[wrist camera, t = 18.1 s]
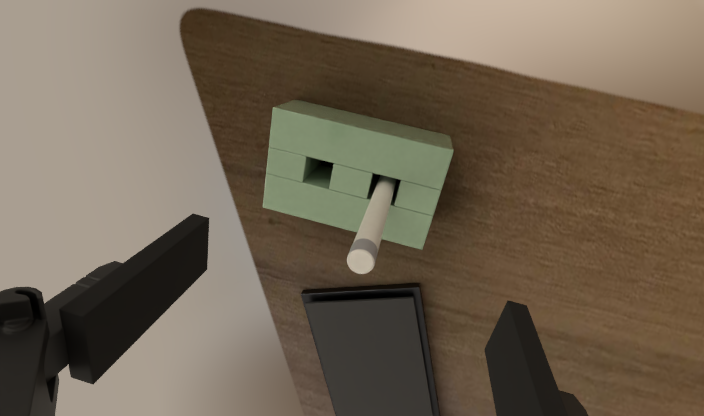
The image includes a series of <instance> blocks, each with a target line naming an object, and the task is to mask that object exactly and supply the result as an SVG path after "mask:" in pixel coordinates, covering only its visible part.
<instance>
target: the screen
mask: <svg viewBox="0 0 704 416" xmlns="http://www.w3.org/2000/svg"><path fill="white" fill-rule="evenodd" d="M305 305H306V308H307V312H308V315H309V319H310V322H311V326H312V329H313V333H314V336H315V340H316V343H317V347H318V350H319V354H320V357H321V361H322V364H323V368H324V371H325V375H326V378H327V382H328V385H329V389H330V392H331V396H332V399H333V403H334V406H335V410H336V413H337V416H433V412H432V406H431V400H430V394H429V388H428V382H427V376H426V370H425V364H424V357H423V351H422V345H421V339H420V333H419V327H418V321H417V315H416V309H415V303H414V297H397V298H378V299H359V300H339V301H320V302H306V303H305Z"/></svg>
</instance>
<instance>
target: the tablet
mask: <svg viewBox="0 0 704 416" xmlns="http://www.w3.org/2000/svg"><path fill="white" fill-rule="evenodd" d="M301 296H302V300H303V303H304V307H305V310H306V314H307V317H308V321H309V324H310V328H311V331H312V334H313V338H314V341H315V345H316V348H317V352H318V355H319V359H320V362H321V366H322V369H323V373H324V376H325V380H326V383H327V387H328V390H329V394H330V397H331V400H332V404H333V407H334V411H335V414H336V416H337V413H336V410H335V406H334V403H333V399H332V396H331V392H330V389H329V385H328V382H327V378H326V375H325V371H324V368H323V364H322V361H321V357H320V354H319V350H318V347H317V343H316V340H315V336H314V333H313V329H312V326H311V322H310V319H309V315H308V312H307V308H306V305H305V303H306V302H320V301H339V300H359V299H378V298H397V297H414V303H415V309H416V315H417V321H418V327H419V333H420V339H421V345H422V351H423V357H424V364H425V370H426V376H427V382H428V388H429V394H430V400H431V406H432V412H433V416H440V411H439V405H438V398H437V392H436V386H435V379H434V373H433V366H432V360H431V354H430V347H429V341H428V334H427V328H426V322H425V315H424V309H423V302H422V296H421V290H420V283H410V284H393V285H377V286H360V287H344V288H327V289H311V290H303V291H302V293H301Z"/></svg>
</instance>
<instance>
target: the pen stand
mask: <svg viewBox="0 0 704 416" xmlns="http://www.w3.org/2000/svg"><path fill="white" fill-rule="evenodd" d="M453 152H454V150H453V145H452V141H451V136H449V135H445V134H441V133H437V132H432V131H428V130H424V129H420V128H415V127H411V126H407V125H402V124H398V123H394V122H390V121H385V120H381V119H377V118H373V117H368V116H364V115H360V114H356V113H351V112H347V111H343V110H339V109H334V108H330V107H326V106H322V105H317V104H313V103H309V102H305V101H300V100H293V101H290V102H287V103H284V104H282V105H279V106H276V107H273V111H272V121H271V131H270V141H269V150H268V160H267V169H266V180H265V189H264V199H263V208H267V209H271V210H275V211H278V212H282V213H286V214H290V215H293V216H297V217H301V218H305V219H308V220H312V221H316V222H320V223H323V224H327V225H331V226H335V227H338V228H342V229H346V230H350V231H353V232H358V230H359V228H360V225H361V223H362V220H363V218H364V215H365V213H366V210H367V208H368V205H369V203H370V200H371V198H372V195H373V193H374V190H375V188H376V185H377V183H378V179H376V175H377V174H379V175H383V176H387V177H391V178H395V179H399V180H400V183H399V185H398V184H396V185H395V188H394V192H393V196H392V200H391V204H390V207H389V211H388V215H387V219H386V223H385V226H384V230H383V234H382V238H381V239H383V240H387V241H391V242H395V243H398V244H402V245H406V246H410V247H413V248H417V249H421V250H422V249H423V247H424V244H425V241H426V238H427V234H428V231H429V228H430V225H431V222H432V219H433V215H434V212H435V209H436V206H437V203H438V200H439V197H440V193H441V190H442V187H443V184H444V181H445V178H446V175H447V171H448V168H449V165H450V162H451V159H452V156H453ZM321 160H323V161H327V162H331V163H334V164H333V168H330V167H326V166H322V165H320V161H321Z"/></svg>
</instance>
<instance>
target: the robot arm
mask: <svg viewBox="0 0 704 416" xmlns="http://www.w3.org/2000/svg"><path fill="white" fill-rule="evenodd" d="M208 232H209V218H207V217H203V216H200V215H196V214H192V215H190V216H189V217H187V218H186V219H185V220H183V221H182V222H180V223H179V224H178V225H176V226H175V227H173V228H172V229H171V230H169V231H168V232H166V233H165V234H164V235H163V236H161V237H160V238H158V239H157V240H155V241H154V242H153V243H151V244H150V245H148V246H147V247H145V248H144V249H143V250H142V251H140V252H138V253H137V254H136V255H134V256H133V257H131V258H130V259H129V260H127V261H126V262H124V263H119V262H116V261H114V262H111V263H108V264H106V265H103V266H100V267H98V268H97V269H95V270H94V271H92V272H91V273H89V274H88V275H86V277H84V278H82V279H80V280H79V281H77V282H76V284H73V285H71V286H70V287H68V288H67V289H65V290H64V291H62V292H61V293H60V294H58V295H56V296H55V297H53V298H52V299H50V300H49V301H47V302H46V303H45V304H44V302H43V297H42V292H40V291H39V290H37V289H36V288H31V287H16V288H11V289H6V290H3V291H1V292H0V416H55V409H56V401H57V393H58V385H59V378H58V373H59V372H60V371H61V370H62V369H63V368H65V367H66V366H67V365H68V364H69V369H70V374H71V377H72V378H75V379H78V380H81V381H84V382H87V383H90V384H94V383H95V382H96V381H97V380H98V379H99V378H100V377H101V376H102V375H103V374H104V373H105V372H106V371H107V370H108V369H109V368H110V367H111V366H112V365H113V364H114V363H115V362H116V361H117V360H118V359H119V357H121V356H122V355H123V354H124V353H125V352H126V351H127V350H128V349H129V348H130V346H132V345H133V344H134V342H136V341H137V340H138V339H139V338H140V337H141V335H142V334H143V333H144V332H145V331H146V330H147V329H148V328H149V327H150V326H151V325H152V324H153V323H154V322H155V321H156V320H157V319H158V318H159V317H160V316H161V315H162V314H163V313H164V312H165V311H166V310H167V309H168V308H169V307H170V306H171V305H172V304H173V303H174V302H175V301H176V300H177V299H178V298H179V297H180V296H181V295H182V294H183V293H184V292H185V291H186V290H187V289H188V288H189V287H190V286H191V285H192V284H193V283H194V282H195V281H196V280H197V279H198V278H199V277H200V276H201V275H202V274H203V273H204V272H205V271H206V270H207V258H208ZM485 354H486V360H487V365H488V371H489V376H490V381H491V387H492V392H493V398H494V403H495V409H496V414H497V416H588V414H587V412H586V410H585V409H584V407H583V406H582V405H581V403H580V402H579V401H578V400H577V398H576V397H575V396H574V395H573V394H570V393H566V392H563V391H560V390H558V388H557V385H556V382H555V380H554V377H553V374H552V372H551V369H550V366H549V364H548V361H547V358H546V356H545V353H544V350H543V348H542V345H541V342H540V340H539V337H538V334H537V332H536V329H535V326H534V324H533V321H532V318H531V316H530V313H529V310H528V308H527V306H526V305H523V304H519V303H515V302H512V301H507V303H506V305H505V308H504V310H503V312H502V314H501V316H500V318H499V320H498V322H497V324H496V326H495V329H494V331H493V333H492V335H491V337H490V339H489V341H488V343H487V345H486V348H485Z"/></svg>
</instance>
